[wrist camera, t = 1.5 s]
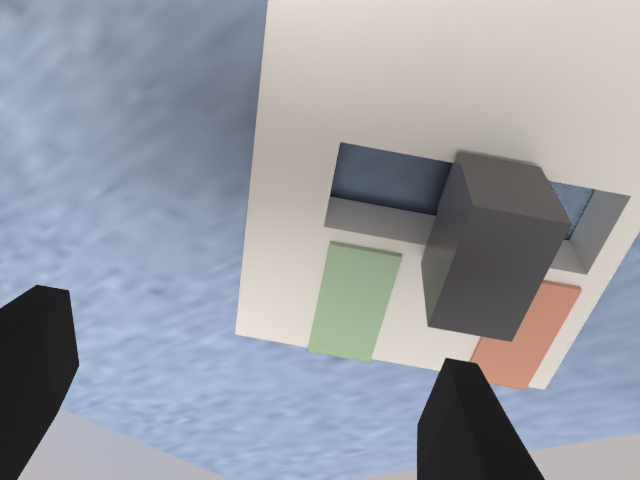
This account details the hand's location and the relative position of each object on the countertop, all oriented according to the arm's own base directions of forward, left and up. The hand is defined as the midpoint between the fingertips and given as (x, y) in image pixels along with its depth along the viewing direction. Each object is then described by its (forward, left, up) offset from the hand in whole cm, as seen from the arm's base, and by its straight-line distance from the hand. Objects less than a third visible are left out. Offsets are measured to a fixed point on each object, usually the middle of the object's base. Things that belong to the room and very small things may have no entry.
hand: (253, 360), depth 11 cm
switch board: (-5, 0, -9) cm, 10 cm away
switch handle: (-6, 0, -9) cm, 11 cm away
